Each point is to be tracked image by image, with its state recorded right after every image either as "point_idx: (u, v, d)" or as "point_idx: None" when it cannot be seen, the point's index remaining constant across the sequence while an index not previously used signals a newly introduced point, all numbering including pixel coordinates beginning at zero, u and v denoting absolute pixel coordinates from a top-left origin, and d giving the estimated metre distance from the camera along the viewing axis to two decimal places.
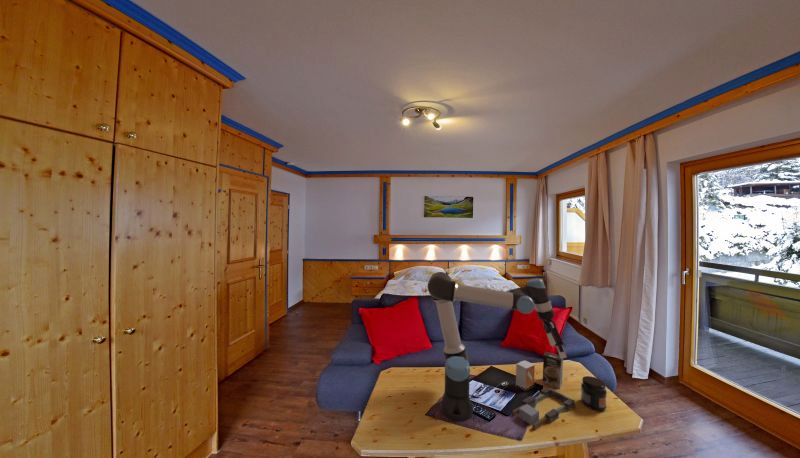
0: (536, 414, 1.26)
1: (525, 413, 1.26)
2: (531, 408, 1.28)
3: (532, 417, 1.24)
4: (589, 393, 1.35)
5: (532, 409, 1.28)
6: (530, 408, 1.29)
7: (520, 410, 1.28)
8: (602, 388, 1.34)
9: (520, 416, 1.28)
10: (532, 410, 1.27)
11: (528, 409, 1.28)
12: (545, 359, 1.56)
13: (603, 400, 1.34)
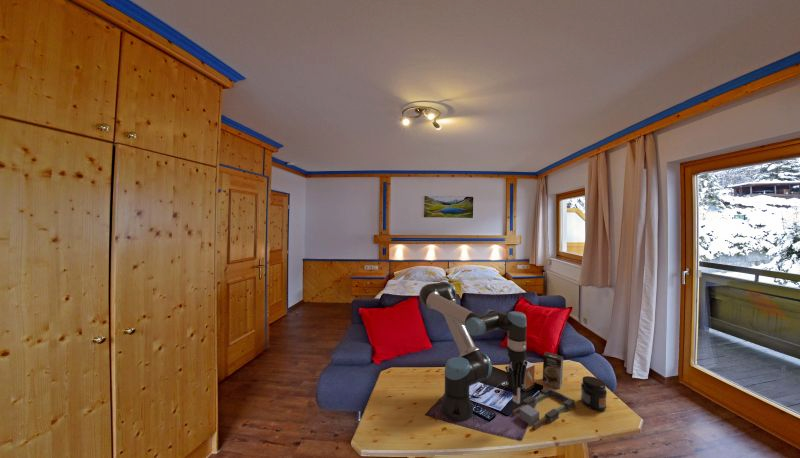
0: (536, 415, 1.25)
1: (525, 413, 1.26)
2: (531, 409, 1.28)
3: (532, 417, 1.24)
4: (589, 393, 1.35)
5: (532, 410, 1.27)
6: (530, 408, 1.28)
7: (520, 410, 1.28)
8: (602, 388, 1.34)
9: (520, 416, 1.28)
10: (532, 411, 1.27)
11: (528, 409, 1.28)
12: (545, 359, 1.56)
13: (603, 400, 1.34)
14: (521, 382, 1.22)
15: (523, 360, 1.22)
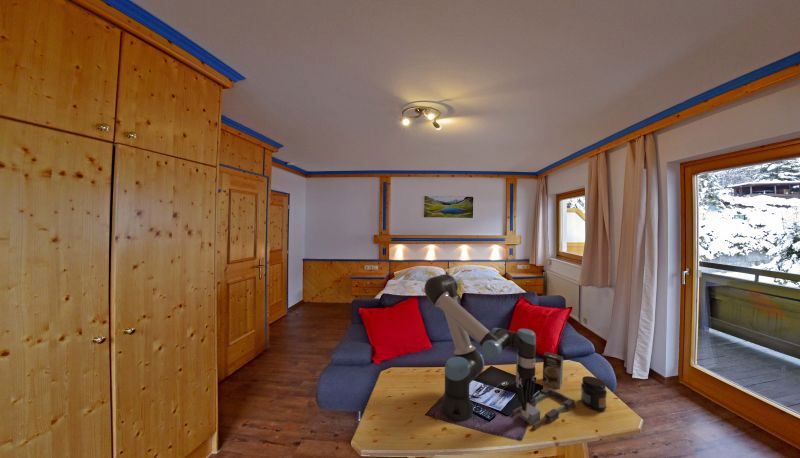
0: (537, 414, 1.26)
1: None
2: (532, 408, 1.29)
3: (533, 416, 1.24)
4: (589, 393, 1.35)
5: (533, 409, 1.28)
6: (531, 407, 1.29)
7: (521, 409, 1.28)
8: (602, 388, 1.34)
9: (521, 415, 1.28)
10: (533, 410, 1.27)
11: (529, 408, 1.28)
12: (545, 359, 1.56)
13: (603, 400, 1.34)
14: (530, 397, 1.26)
15: (532, 376, 1.26)
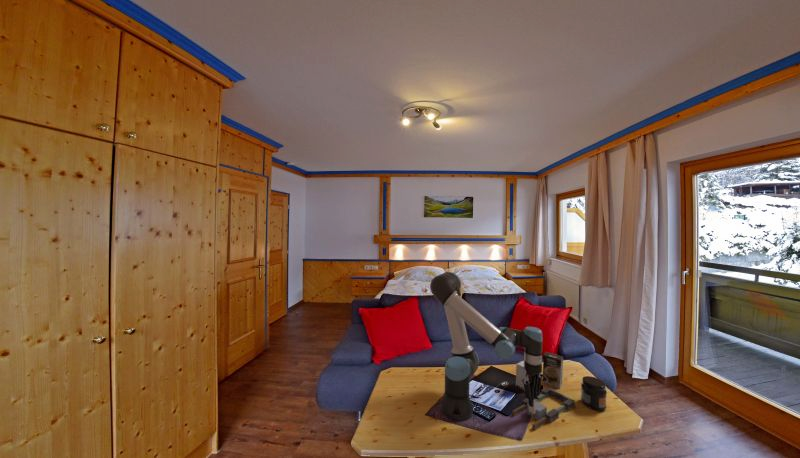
0: (544, 410, 1.28)
1: None
2: (538, 404, 1.31)
3: (540, 412, 1.27)
4: (589, 393, 1.35)
5: (540, 405, 1.30)
6: (538, 403, 1.32)
7: (528, 406, 1.31)
8: (602, 388, 1.34)
9: (528, 412, 1.31)
10: (540, 406, 1.30)
11: (536, 404, 1.31)
12: (545, 359, 1.56)
13: (603, 400, 1.34)
14: (537, 394, 1.28)
15: None
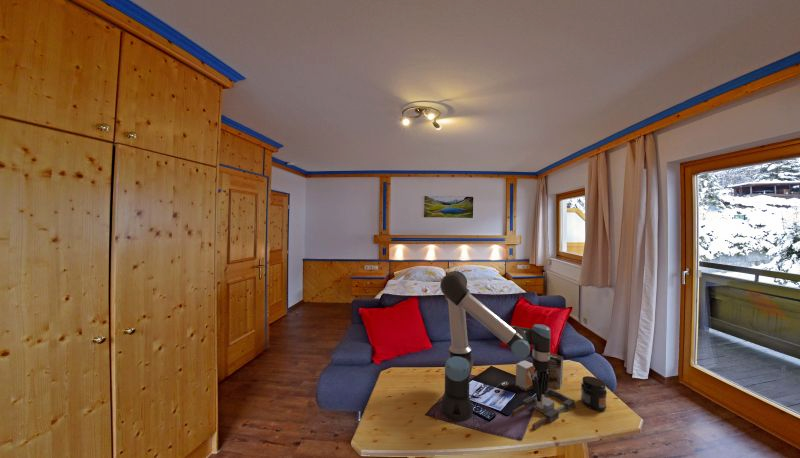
0: (552, 405, 1.32)
1: None
2: (546, 399, 1.35)
3: (548, 407, 1.30)
4: (589, 393, 1.35)
5: (547, 400, 1.34)
6: (545, 399, 1.35)
7: (536, 401, 1.35)
8: (602, 388, 1.34)
9: (536, 407, 1.35)
10: (548, 401, 1.33)
11: None
12: None
13: (603, 400, 1.34)
14: (545, 389, 1.32)
15: (547, 369, 1.33)
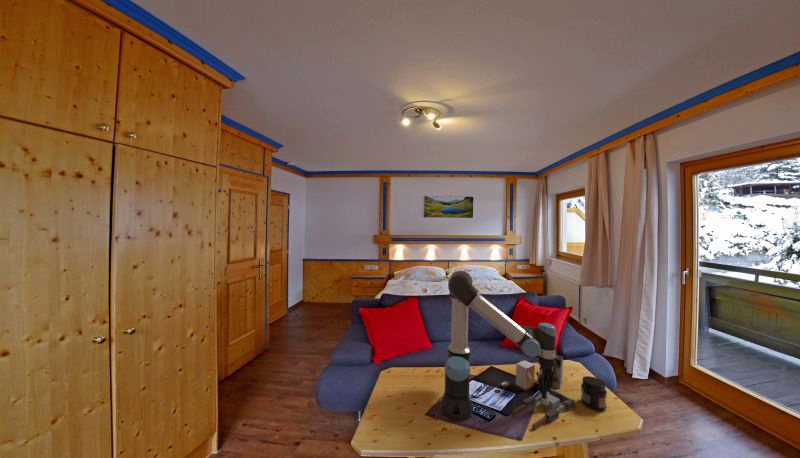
0: (557, 402, 1.35)
1: None
2: (551, 396, 1.38)
3: (554, 404, 1.33)
4: (589, 393, 1.35)
5: (553, 398, 1.37)
6: (551, 396, 1.38)
7: None
8: (602, 388, 1.34)
9: (542, 404, 1.37)
10: (553, 398, 1.36)
11: (549, 397, 1.37)
12: None
13: (603, 400, 1.34)
14: (550, 386, 1.35)
15: (552, 367, 1.36)
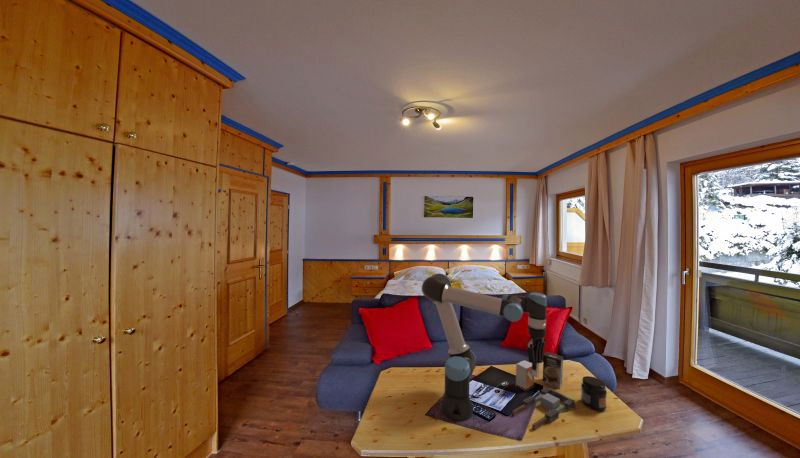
0: (557, 402, 1.35)
1: (547, 401, 1.35)
2: (551, 396, 1.38)
3: (554, 404, 1.33)
4: (589, 393, 1.35)
5: (553, 398, 1.37)
6: (551, 396, 1.38)
7: (542, 398, 1.37)
8: (602, 388, 1.34)
9: (542, 404, 1.37)
10: (553, 398, 1.36)
11: (549, 397, 1.37)
12: (545, 359, 1.56)
13: (603, 400, 1.34)
14: (540, 358, 1.30)
15: (542, 338, 1.31)
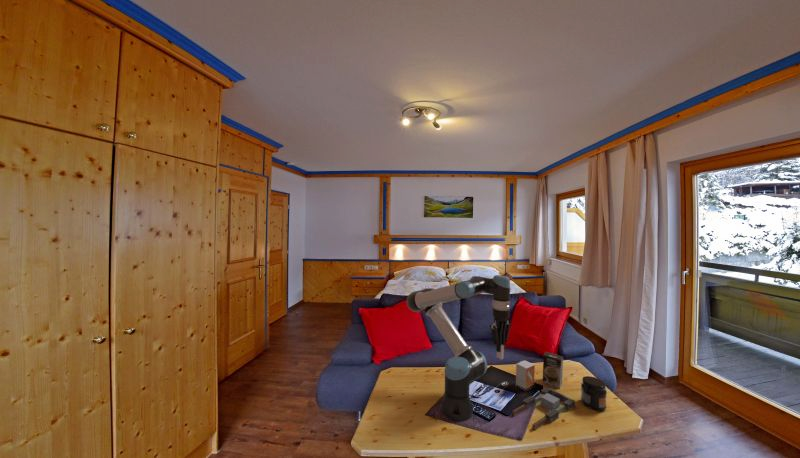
0: (557, 402, 1.35)
1: (547, 401, 1.35)
2: (551, 396, 1.38)
3: (554, 404, 1.33)
4: (589, 393, 1.35)
5: (553, 398, 1.37)
6: (551, 396, 1.38)
7: (542, 398, 1.37)
8: (602, 388, 1.34)
9: (542, 404, 1.37)
10: (553, 398, 1.36)
11: (549, 397, 1.37)
12: (545, 359, 1.56)
13: (603, 400, 1.34)
14: (505, 340, 1.31)
15: (507, 320, 1.32)
